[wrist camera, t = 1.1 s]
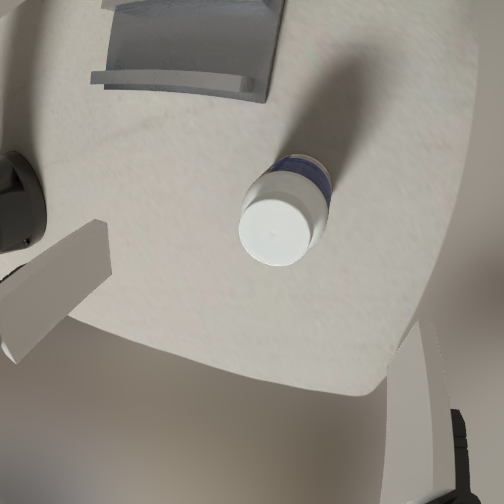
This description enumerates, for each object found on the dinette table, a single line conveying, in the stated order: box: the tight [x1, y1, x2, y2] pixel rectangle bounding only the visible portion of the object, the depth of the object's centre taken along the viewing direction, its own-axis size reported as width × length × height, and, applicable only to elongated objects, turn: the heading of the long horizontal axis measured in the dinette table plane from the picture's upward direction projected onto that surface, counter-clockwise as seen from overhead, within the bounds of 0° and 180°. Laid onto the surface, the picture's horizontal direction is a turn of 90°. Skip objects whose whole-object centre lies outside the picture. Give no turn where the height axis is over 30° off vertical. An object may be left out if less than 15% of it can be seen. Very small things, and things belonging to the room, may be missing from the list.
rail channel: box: [90, 0, 285, 104], centre depth 19 cm, size 16×10×4 cm, turn 81°
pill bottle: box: [239, 154, 332, 266], centre depth 20 cm, size 5×5×10 cm
